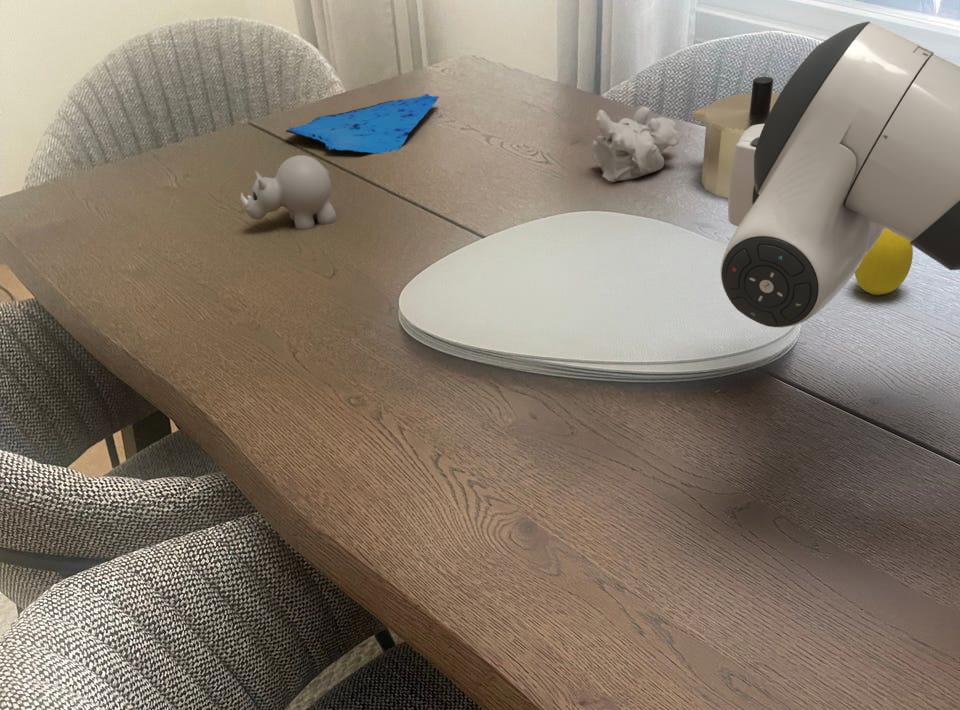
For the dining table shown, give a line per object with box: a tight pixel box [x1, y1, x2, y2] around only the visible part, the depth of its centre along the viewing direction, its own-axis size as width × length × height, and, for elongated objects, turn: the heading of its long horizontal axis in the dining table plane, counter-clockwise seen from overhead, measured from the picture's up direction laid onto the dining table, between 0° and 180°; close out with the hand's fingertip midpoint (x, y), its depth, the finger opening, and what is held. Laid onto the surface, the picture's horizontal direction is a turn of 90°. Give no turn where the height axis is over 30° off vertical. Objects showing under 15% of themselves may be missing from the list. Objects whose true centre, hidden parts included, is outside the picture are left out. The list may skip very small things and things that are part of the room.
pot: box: [692, 106, 743, 199], centre depth 124 cm, size 13×18×8 cm
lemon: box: [854, 228, 914, 296], centre depth 101 cm, size 6×6×8 cm
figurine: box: [591, 106, 681, 183], centre depth 129 cm, size 8×10×12 cm
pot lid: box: [704, 76, 781, 134], centre depth 120 cm, size 14×14×5 cm
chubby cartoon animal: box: [240, 154, 338, 230], centre depth 127 cm, size 7×12×8 cm, turn 108°
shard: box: [284, 93, 440, 155], centre depth 153 cm, size 25×24×2 cm
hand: (885, 137), depth 83 cm, fingers open, 8 cm apart
